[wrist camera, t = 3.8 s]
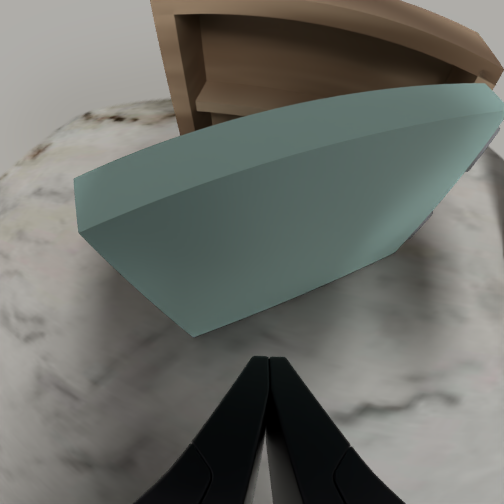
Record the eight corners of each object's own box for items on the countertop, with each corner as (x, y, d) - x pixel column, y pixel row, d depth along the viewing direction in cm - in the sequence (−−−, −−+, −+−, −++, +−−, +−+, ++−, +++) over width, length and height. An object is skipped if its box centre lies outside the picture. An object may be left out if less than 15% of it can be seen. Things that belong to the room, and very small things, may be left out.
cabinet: (396, 228, 17) (504, 69, 6) (193, 186, 18) (149, -3, 7) (395, 187, 18) (477, 32, 8) (208, 149, 19) (183, -26, 9)
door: (408, 245, 16) (522, 108, 6) (193, 337, 14) (79, 233, 5) (398, 228, 17) (498, 83, 7) (185, 314, 15) (73, 178, 5)
